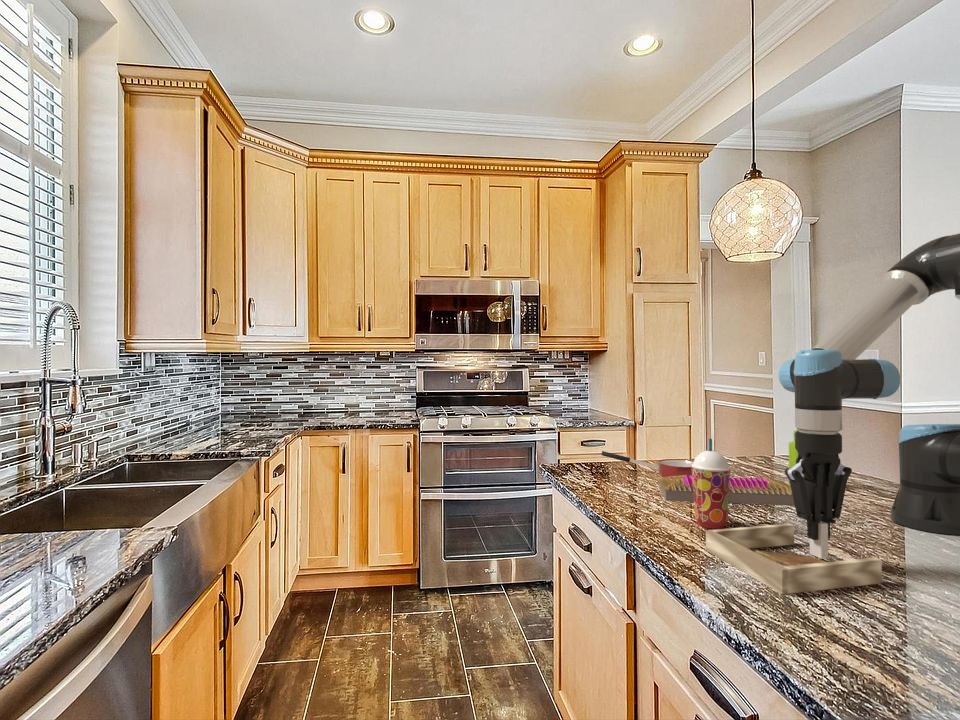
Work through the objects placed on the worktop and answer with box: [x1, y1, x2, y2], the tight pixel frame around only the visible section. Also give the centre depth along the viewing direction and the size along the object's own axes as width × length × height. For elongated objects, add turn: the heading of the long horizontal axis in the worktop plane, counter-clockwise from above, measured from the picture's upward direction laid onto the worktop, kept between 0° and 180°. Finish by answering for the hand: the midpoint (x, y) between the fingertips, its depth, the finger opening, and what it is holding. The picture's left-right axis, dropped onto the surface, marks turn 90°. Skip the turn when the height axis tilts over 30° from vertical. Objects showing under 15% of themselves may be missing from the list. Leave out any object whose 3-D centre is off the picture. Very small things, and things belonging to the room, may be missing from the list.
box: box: [705, 522, 883, 595], centre depth 99 cm, size 20×20×4 cm
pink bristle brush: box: [655, 475, 795, 507], centre depth 147 cm, size 35×14×6 cm, turn 79°
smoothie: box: [691, 438, 732, 530], centre depth 123 cm, size 8×8×20 cm
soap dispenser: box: [788, 428, 799, 485], centre depth 156 cm, size 6×7×20 cm
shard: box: [754, 548, 826, 567], centre depth 101 cm, size 11×8×2 cm
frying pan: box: [601, 450, 694, 480], centre depth 177 cm, size 32×13×6 cm, turn 68°
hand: (818, 555), depth 100 cm, fingers closed
